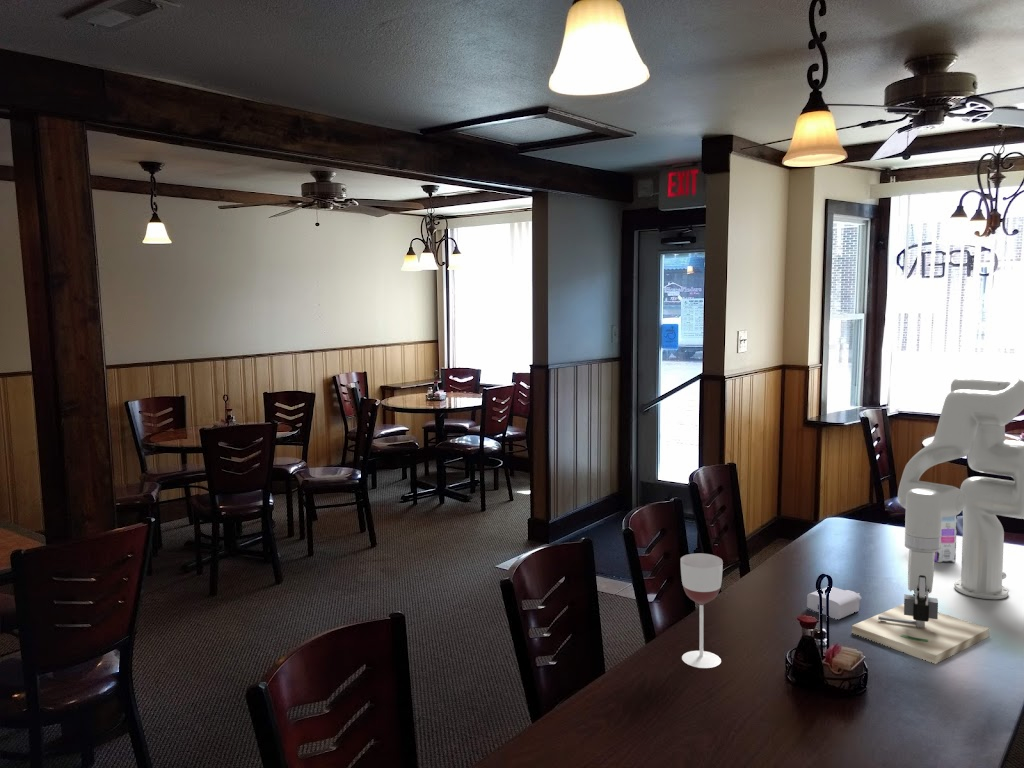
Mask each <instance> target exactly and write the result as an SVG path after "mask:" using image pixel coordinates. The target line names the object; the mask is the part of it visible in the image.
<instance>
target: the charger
mask: <svg viewBox="0 0 1024 768" xmlns="http://www.w3.org/2000/svg"><path fill="white" fill-rule="evenodd" d="M827 587H828V586H826V587H823V588H821V589H822V591H823V594H822V613H823V609H825V606H826V595H825V590H826V589H827ZM817 591H818V590H815V591H812V592H810V593H808V594H807V595H806V596H807V597H806V607H808V608H811V609H813V610H814V611H817V612H818V611H819V594H818V592H817ZM861 599H862V596H861V595H860V592H856V591H853V590H849V589H846V590H844V589H841V588H838V587H835V586H832V588H831V591H830V593H829V616H830V617H829V618H831V619H834V618H835V619H834V620H837V619H838V620H841V619H843V618H845V617H847V616H850V615H852V614H854V612H855V613H857V612H859V611H860V601H861ZM808 608H807V609H808ZM814 611H813V612H814Z"/></svg>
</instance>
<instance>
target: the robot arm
mask: <svg viewBox="0 0 1024 768" xmlns="http://www.w3.org/2000/svg"><path fill="white" fill-rule="evenodd" d="M944 399H945V400H944V402H943V407H942V408H941V413H940V416H939V419H938V424H937V427H936V430H935V432H934V437H933V440H932V441H931V442H930V443H929V444H928V445H926V446H925V447H923V448H921V449H920V450H919V451H918V452H916V453H915V454H914V455H913V456H912V457H911V458H910V459H909V461H908V462H907V463H906V464H905V467H904V469H903V471H902V475H901V479H900V482H899V486H898V490H897V500H898V503H899V505H900V507H902V508H904V509H905V518H904V521H905V523H904V524H905V525H904V547H905V548H906V549H908V563H907V564H908V565H907V570H908V571H907V587H908V590H909V592H912V591H913V593H912V595H914V596H915V603H914V605H913V619H914V620H918V621H926V622H928V621H929V605H928V597H929V594H931V593H932V591H933V584H934V575H935V574H934V573H935V561H934V558H935V552H938V551H940V550H941V521H942V518H948V517H954V516H956V515H957V516H958V515H959V514H960V513H962V541H961V542H962V543H961V546H962V547H961V548H962V549H961V570H960V572H961V573H960V580H956V581H955V582H954V586H953V587H954V589H955V590H956V591H957V592H959V593H961V594H963V595H966V596H969V597H973V598H975V599H976V598H977V599H983V600H1001V599H1005V598H1007V597H1008V596H1009V589H1007V587H1005V586H1003V580H1004V579H1006V578H1007V574H1006V572H1004V571H1003V566H1004V565H1003V563H1004V547H1005V546H1004V541H1005V540H1004V539H1005V531H1004V527H1003V525H1002V523H1001V521H1000V519H998V517H997V516H1001V517H1008V518H1013V519H1014V518H1015V519H1021V520H1022V519H1023V520H1024V441H1022V440H1015V439H1013V440H1012V439H1008V438H1006V425H1008V424H1009V423H1011V421H1013V420H1014V419H1015V418H1016V417H1017V416H1018V415H1019V414H1020V413H1021V412H1022V411H1023V410H1024V380H1022V379H1019V378H1010V377H1008V378H1007V377H992V376H976V375H975V376H974V375H973V376H961V377H956V378H955V379H953V381H952V382H951V384H950V392H949V393H948V394H947V395H946V397H945V398H944ZM965 457H967V464H968V467H969V468H970V469H971V470H972V471H975V472H979V473H981V474H982V473H984V474H990V475H997V476H1005V477H1011V478H1012V479H1013V480H1009V479H1001V478H994V477H988V476H970V477H967V478H966V479H964V480H963V481H962V483H961V485H960V488H958V487H956V486H954V485H948V484H941V483H937V482H929V481H923V480H920V479H921V476H922V475H923V474H924V473H925V472H926V471H927V470H929V469H930V468H932V467H934V466H936V465H938V464H942V463H946V462H950V461H954V460H958V459H961V458H962V459H963V458H965ZM917 599H918V600H917Z"/></svg>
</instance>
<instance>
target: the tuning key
mask: <svg viewBox="0 0 1024 768" xmlns="http://www.w3.org/2000/svg"><path fill="white" fill-rule="evenodd" d="M903 598H904V599H903V604H904V615H909V616H913V605H914V603H915V596H914V595H913V594H912V595H911V594H906V593H905V594H904V597H903ZM917 600H918V599H917ZM928 605H929V618H931V619H938V612H939V611H938V610H939V601H938V598H936V597H929V596H928ZM878 620H885V621H892V622H899V623H906V624H913V625H915V626H916V627H919V628H924V627H925V621H918V620H916V622H915V621H911V620H904V619H897V618H890V617H883V616H878Z"/></svg>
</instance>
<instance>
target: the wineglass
mask: <svg viewBox="0 0 1024 768" xmlns="http://www.w3.org/2000/svg"><path fill="white" fill-rule="evenodd" d="M723 564H724V562H723V559H722V558H721V557H719V556H717V555H713V554H710V553H702V552H700V553H690V554H685V555H683V556H681V557H680V576H681V582H682V583H681V584H682V586H683V587H682V588H683V590H684V593H685V595H686V596H687V597H688V598H689V599H690V600H691V601H693V602H695V603H697V604H699V610H698V611H699V617H698V618H699V620H698V621H699V625H698V626H699V630H698V631H699V635H698V636H699V638H698V639H699V640H698V641H699V645H698V646H699V650H690V651H687V652H685V653H683V655H682V656H681V660H682V661H683V662H684V663H685V664H687V665H688V666H691V667H693V668H698V669H710V668H711V669H712V668H715V667H717V666H719V665H720V664H721V663H722V659H721V658H720V657H719V655H717V654H715V653H713V652H711V651H706V650H704V605H706V604H708V603H710V602H712V601H713V600H714V599H716V598H717V597H718V595H719V592H720V590H721V587H722V581H723V580H722V579H723V566H724V565H723Z"/></svg>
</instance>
